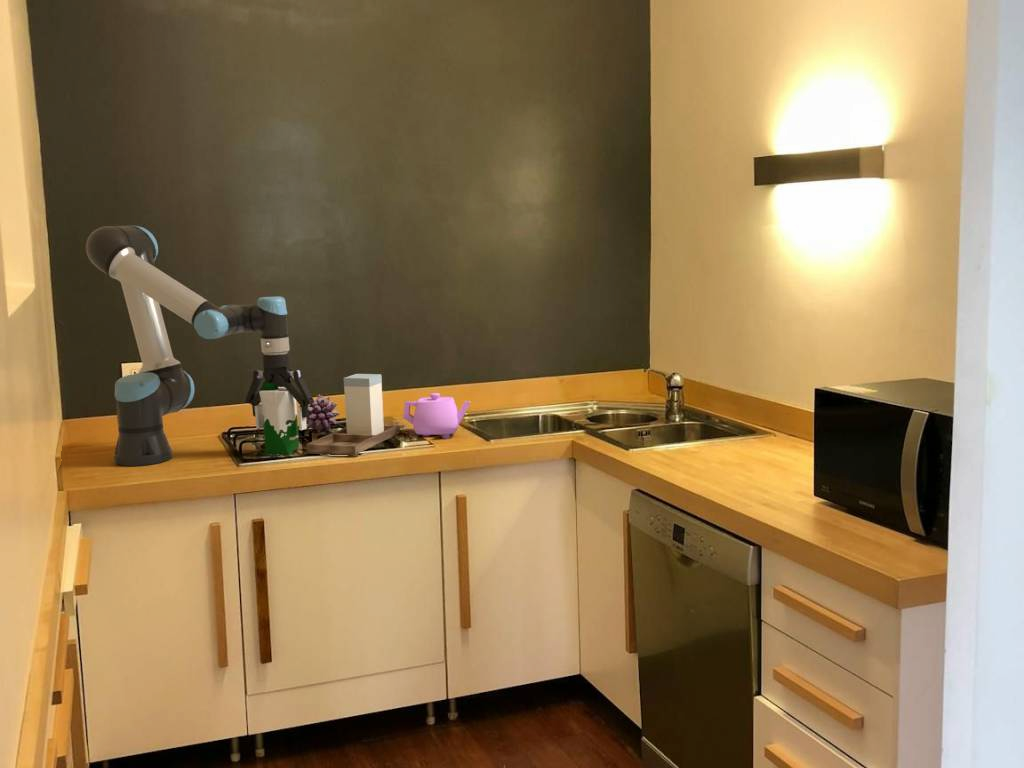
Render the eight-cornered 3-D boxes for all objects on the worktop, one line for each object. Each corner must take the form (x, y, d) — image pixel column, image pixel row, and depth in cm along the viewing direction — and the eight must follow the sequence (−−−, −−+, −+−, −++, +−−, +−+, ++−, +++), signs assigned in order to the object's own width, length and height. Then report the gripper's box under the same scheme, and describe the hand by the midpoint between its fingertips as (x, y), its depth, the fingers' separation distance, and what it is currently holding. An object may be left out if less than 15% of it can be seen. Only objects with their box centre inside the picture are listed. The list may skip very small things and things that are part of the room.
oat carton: (347, 439, 307) (343, 378, 305) (359, 433, 315) (356, 373, 312) (372, 440, 305) (369, 378, 302) (384, 434, 312) (381, 374, 310)
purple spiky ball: (293, 436, 318) (291, 397, 316) (314, 428, 329) (312, 390, 327) (327, 438, 314) (325, 398, 312) (347, 430, 325) (345, 392, 323)
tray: (306, 454, 292) (306, 444, 292) (354, 433, 319) (354, 423, 319) (355, 457, 287) (355, 446, 287) (400, 435, 315) (399, 425, 314)
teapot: (401, 441, 307) (399, 397, 305) (406, 432, 319) (404, 390, 317) (470, 439, 306) (468, 396, 304) (473, 430, 318) (471, 389, 316)
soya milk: (273, 448, 301) (269, 379, 298) (303, 449, 300) (299, 379, 297) (260, 455, 293) (255, 384, 290) (291, 456, 291) (286, 384, 288)
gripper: (228, 354, 292) (235, 430, 296) (309, 354, 284) (314, 432, 288) (244, 351, 299) (249, 424, 303) (322, 351, 291) (327, 426, 295)
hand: (281, 428), depth 295 cm, fingers open, 13 cm apart
